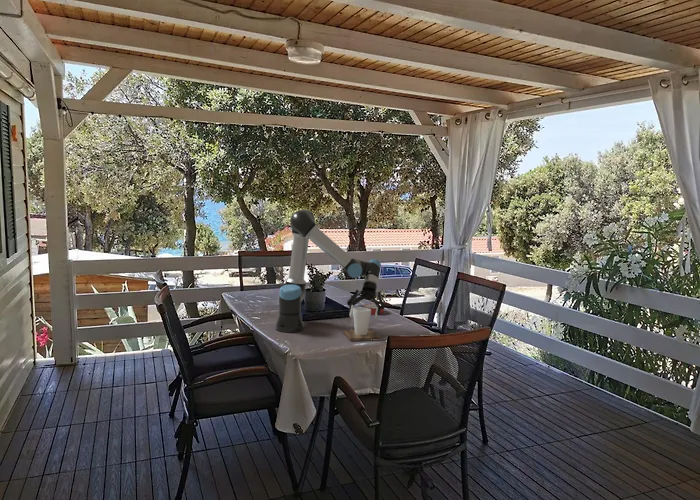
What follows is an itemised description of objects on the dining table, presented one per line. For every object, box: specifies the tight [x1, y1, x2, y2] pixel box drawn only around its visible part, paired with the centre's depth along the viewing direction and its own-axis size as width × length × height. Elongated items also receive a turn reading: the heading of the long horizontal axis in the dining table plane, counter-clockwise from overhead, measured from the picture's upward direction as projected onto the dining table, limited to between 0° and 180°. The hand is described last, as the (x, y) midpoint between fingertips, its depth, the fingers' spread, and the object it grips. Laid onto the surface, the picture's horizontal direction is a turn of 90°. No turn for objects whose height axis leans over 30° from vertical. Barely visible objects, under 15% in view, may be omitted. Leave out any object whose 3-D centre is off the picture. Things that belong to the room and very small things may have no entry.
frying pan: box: [350, 294, 385, 316], centre depth 316 cm, size 32×13×6 cm, turn 39°
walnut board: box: [342, 328, 381, 342], centre depth 256 cm, size 16×15×2 cm
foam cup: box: [352, 306, 371, 335], centre depth 256 cm, size 10×9×13 cm
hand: (362, 317), depth 255 cm, fingers open, 13 cm apart
